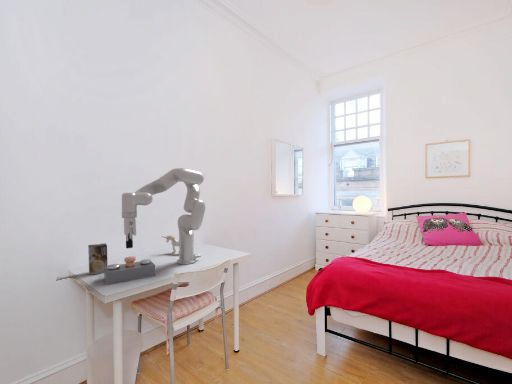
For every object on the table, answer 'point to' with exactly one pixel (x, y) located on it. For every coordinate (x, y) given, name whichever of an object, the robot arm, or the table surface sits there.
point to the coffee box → (97, 258)
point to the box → (129, 272)
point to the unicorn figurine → (174, 242)
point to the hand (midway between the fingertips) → (129, 247)
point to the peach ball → (129, 261)
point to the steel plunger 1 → (113, 267)
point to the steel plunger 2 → (145, 262)
